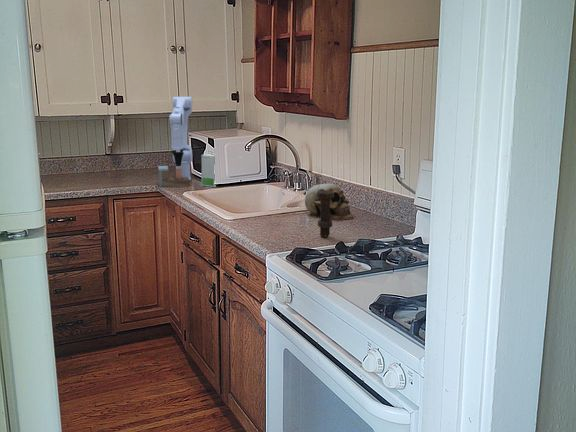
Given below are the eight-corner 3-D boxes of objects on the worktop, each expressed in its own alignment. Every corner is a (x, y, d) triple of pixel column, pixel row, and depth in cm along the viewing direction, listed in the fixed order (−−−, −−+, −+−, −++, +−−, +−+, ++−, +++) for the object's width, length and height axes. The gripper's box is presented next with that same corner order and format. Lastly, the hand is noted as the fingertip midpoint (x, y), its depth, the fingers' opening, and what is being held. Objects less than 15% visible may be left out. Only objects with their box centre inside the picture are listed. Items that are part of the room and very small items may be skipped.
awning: (159, 183, 305) (158, 166, 303) (168, 183, 306) (167, 165, 304) (159, 187, 295) (158, 168, 293) (169, 186, 296) (168, 168, 294)
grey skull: (354, 219, 223) (351, 183, 221) (308, 224, 222) (305, 189, 220) (348, 212, 238) (345, 179, 236) (305, 217, 238) (302, 183, 235)
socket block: (162, 183, 305) (162, 177, 304) (188, 182, 308) (188, 177, 307) (162, 186, 296) (162, 180, 295) (189, 185, 298) (189, 179, 298)
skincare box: (201, 186, 298) (200, 154, 294) (208, 184, 303) (208, 153, 300) (215, 187, 294) (214, 155, 291) (222, 185, 300) (222, 154, 296)
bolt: (313, 237, 196) (314, 192, 193) (318, 234, 200) (319, 190, 197) (331, 239, 194) (331, 193, 191) (335, 235, 198) (336, 191, 195)
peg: (175, 184, 303) (175, 168, 301) (181, 184, 304) (181, 168, 302) (176, 185, 300) (175, 169, 298) (182, 185, 301) (182, 169, 299)
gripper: (186, 139, 291) (187, 166, 294) (184, 136, 305) (185, 163, 308) (171, 139, 289) (172, 167, 292) (170, 136, 303) (171, 163, 306)
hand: (178, 165), depth 300 cm, fingers open, 7 cm apart
